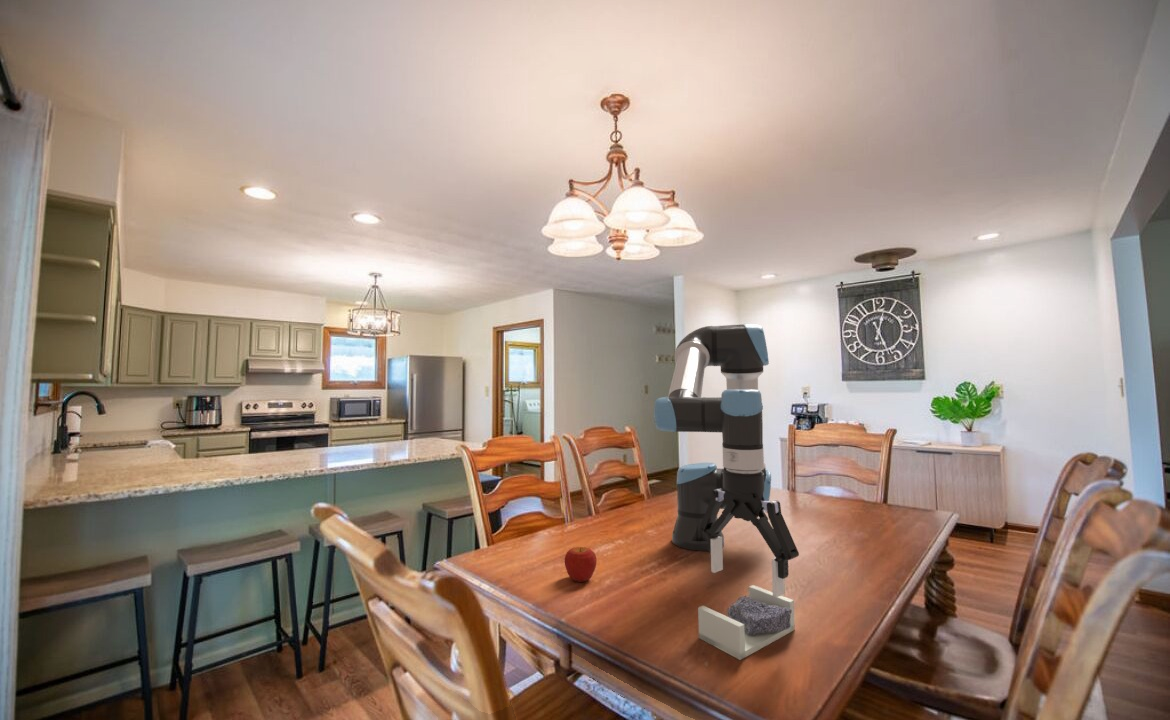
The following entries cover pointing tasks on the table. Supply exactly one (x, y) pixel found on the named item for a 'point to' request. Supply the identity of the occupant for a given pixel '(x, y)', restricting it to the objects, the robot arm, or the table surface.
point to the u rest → (741, 627)
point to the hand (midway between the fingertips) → (746, 582)
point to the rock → (759, 616)
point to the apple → (580, 563)
